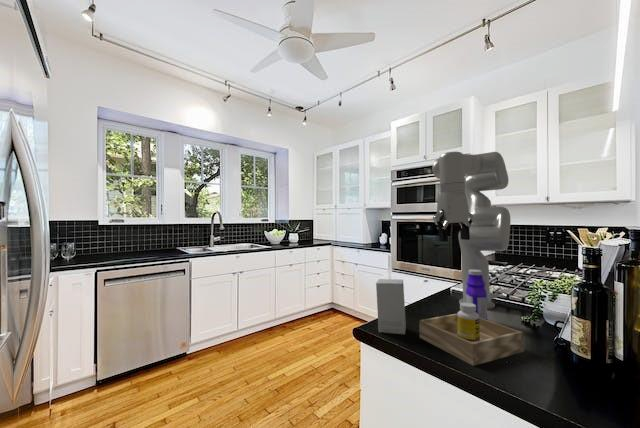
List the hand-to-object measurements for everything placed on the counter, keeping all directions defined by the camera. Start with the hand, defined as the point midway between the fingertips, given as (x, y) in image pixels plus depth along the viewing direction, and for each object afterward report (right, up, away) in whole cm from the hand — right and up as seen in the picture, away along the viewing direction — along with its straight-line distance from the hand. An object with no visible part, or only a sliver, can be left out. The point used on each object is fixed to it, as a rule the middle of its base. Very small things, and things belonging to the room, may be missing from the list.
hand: (454, 240), depth 93 cm
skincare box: (-22, -28, -5) cm, 36 cm away
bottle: (+8, -28, 0) cm, 29 cm away
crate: (-4, -27, -16) cm, 32 cm away
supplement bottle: (-4, -26, -16) cm, 31 cm away
